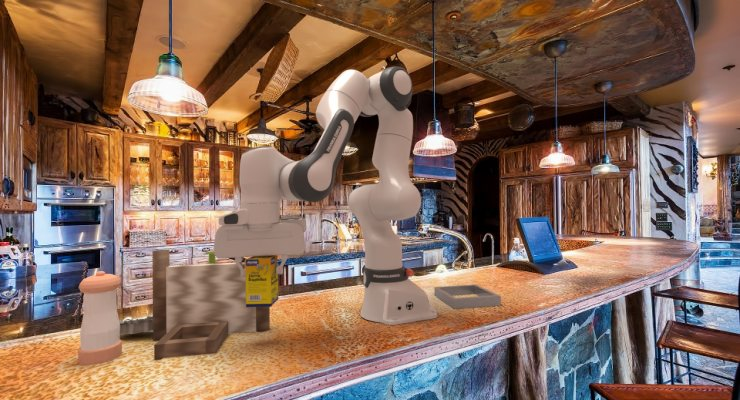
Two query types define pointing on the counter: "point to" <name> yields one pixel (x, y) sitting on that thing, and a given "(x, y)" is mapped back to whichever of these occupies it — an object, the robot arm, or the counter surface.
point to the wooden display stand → (199, 307)
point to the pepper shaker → (99, 320)
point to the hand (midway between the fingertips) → (262, 275)
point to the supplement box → (261, 281)
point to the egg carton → (136, 325)
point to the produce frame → (481, 300)
